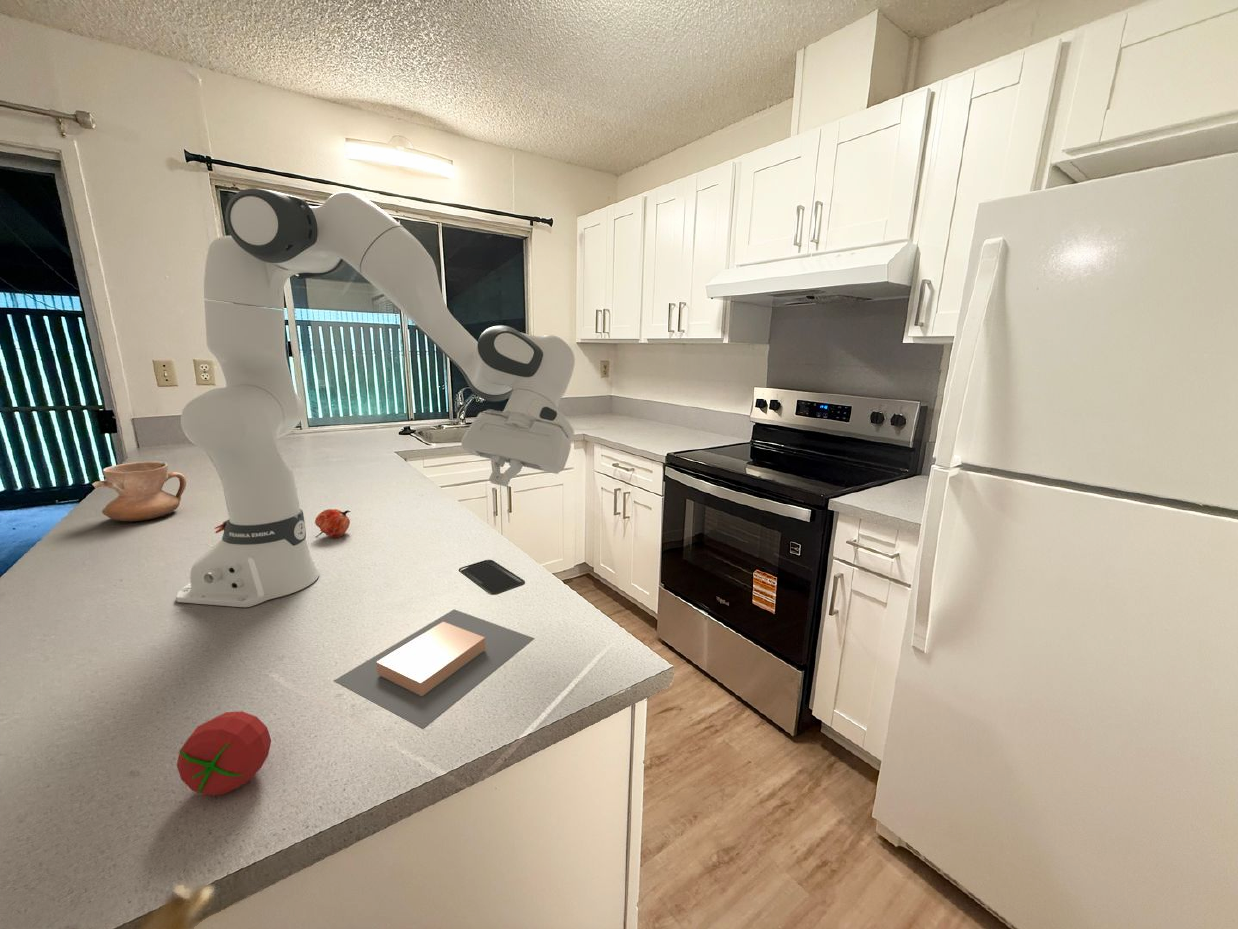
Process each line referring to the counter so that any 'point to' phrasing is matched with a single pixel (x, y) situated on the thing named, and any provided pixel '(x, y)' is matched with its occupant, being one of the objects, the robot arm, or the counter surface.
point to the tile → (431, 658)
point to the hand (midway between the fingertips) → (497, 483)
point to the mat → (453, 688)
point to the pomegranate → (332, 522)
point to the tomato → (224, 753)
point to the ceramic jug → (140, 491)
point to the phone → (491, 576)
